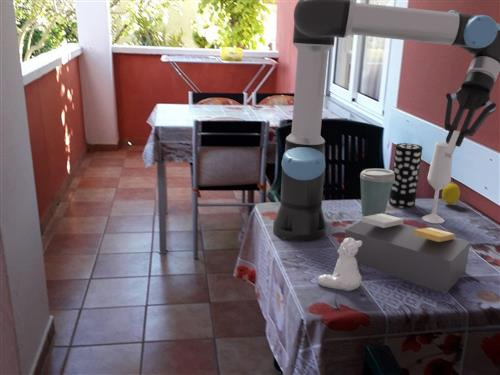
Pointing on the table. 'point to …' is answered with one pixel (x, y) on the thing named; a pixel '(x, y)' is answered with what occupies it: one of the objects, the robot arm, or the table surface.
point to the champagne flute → (438, 177)
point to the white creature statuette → (344, 268)
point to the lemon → (451, 193)
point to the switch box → (410, 255)
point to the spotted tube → (405, 175)
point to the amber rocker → (434, 234)
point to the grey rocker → (382, 220)
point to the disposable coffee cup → (375, 190)
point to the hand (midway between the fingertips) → (447, 155)
